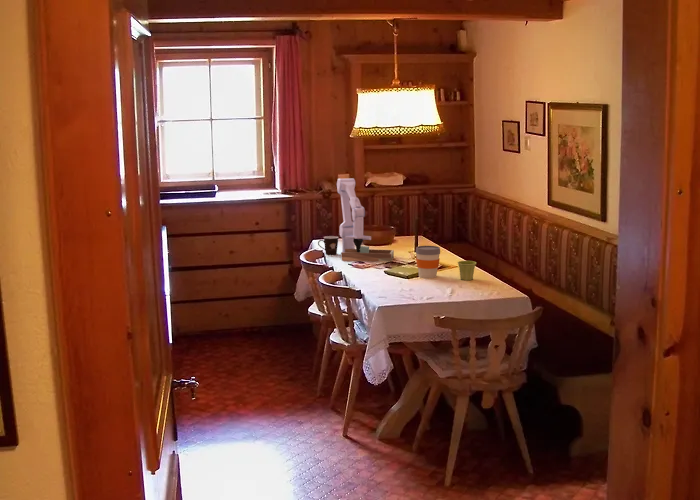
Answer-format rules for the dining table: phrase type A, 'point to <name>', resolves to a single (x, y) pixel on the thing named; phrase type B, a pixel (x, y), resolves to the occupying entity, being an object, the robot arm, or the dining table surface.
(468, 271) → the plant pot
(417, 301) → the dining table surface
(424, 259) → the reusable coffee cup
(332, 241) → the coffee mug
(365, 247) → the teal block
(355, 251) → the trap tray
